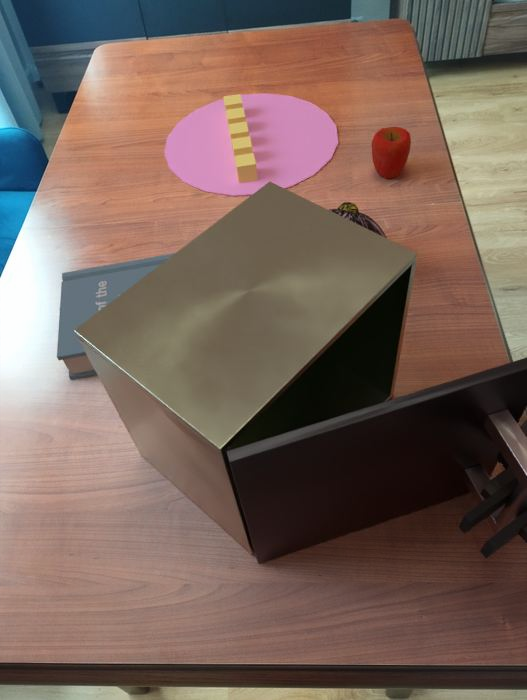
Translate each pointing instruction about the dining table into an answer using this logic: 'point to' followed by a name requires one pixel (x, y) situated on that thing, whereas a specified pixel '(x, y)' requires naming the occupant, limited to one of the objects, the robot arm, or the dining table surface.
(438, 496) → the compartment door
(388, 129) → the apple
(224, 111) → the platter
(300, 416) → the storage compartment
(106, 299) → the book
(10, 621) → the dining table surface
